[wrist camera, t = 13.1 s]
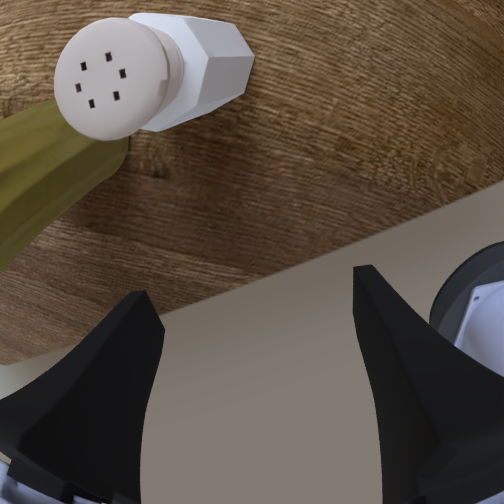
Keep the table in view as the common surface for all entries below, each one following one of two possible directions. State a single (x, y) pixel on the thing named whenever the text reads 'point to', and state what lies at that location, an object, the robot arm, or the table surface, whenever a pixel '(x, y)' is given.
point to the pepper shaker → (148, 73)
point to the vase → (46, 172)
